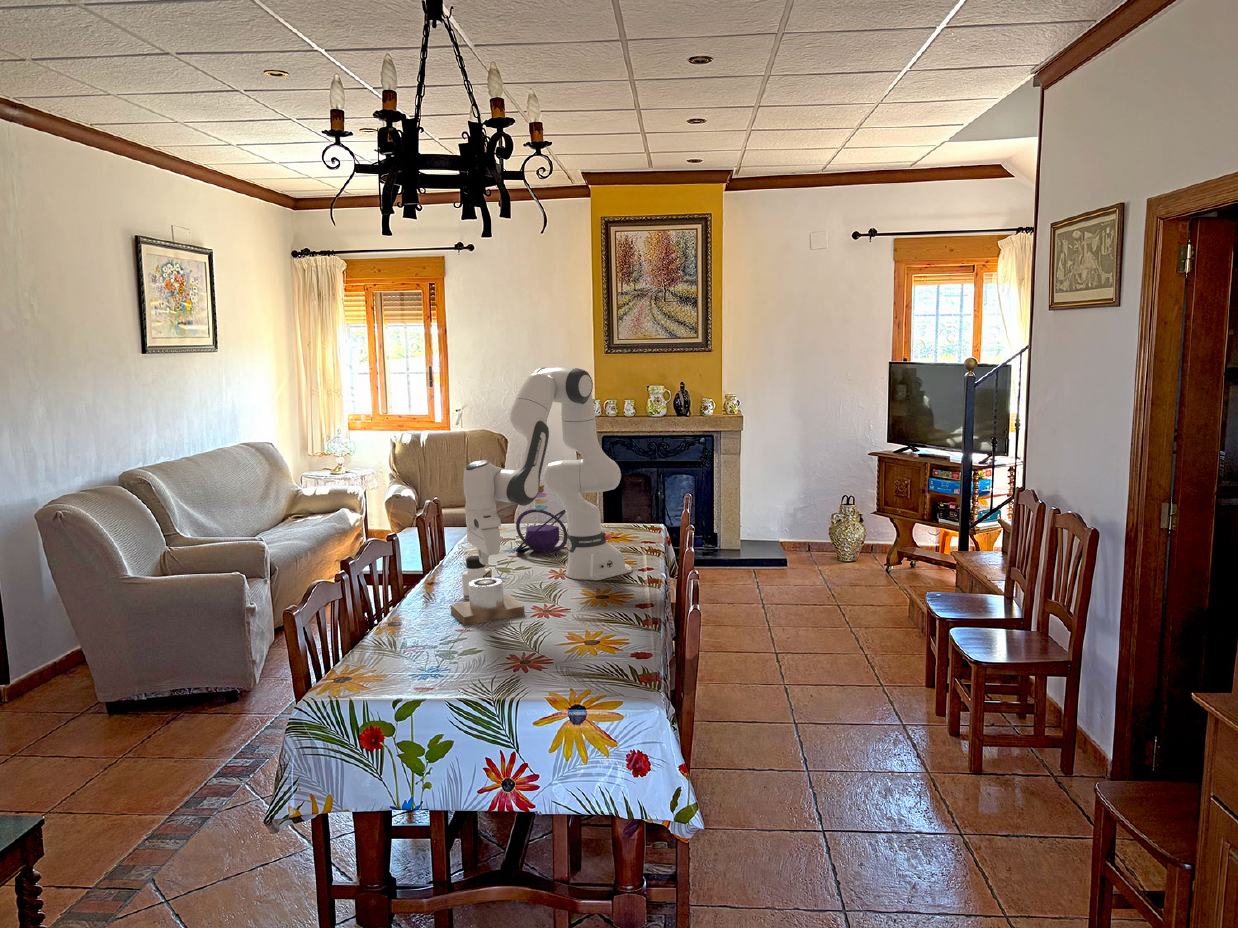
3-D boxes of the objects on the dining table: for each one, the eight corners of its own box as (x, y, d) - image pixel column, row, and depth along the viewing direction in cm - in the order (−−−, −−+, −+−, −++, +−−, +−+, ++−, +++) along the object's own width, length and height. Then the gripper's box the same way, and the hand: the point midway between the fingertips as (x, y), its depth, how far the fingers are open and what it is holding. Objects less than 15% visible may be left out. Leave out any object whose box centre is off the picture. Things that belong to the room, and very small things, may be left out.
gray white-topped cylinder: (492, 598, 262) (491, 578, 261) (497, 602, 258) (496, 582, 257) (476, 601, 260) (474, 581, 259) (481, 605, 256) (480, 585, 255)
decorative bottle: (527, 542, 346) (524, 479, 343) (578, 543, 341) (575, 480, 337) (505, 557, 325) (501, 490, 321) (559, 558, 319) (555, 490, 316)
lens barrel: (497, 598, 266) (495, 575, 264) (507, 606, 257) (506, 583, 256) (466, 603, 261) (464, 581, 260) (476, 612, 253) (474, 588, 252)
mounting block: (508, 602, 270) (508, 594, 269) (524, 614, 257) (524, 606, 257) (451, 612, 262) (450, 604, 261) (464, 625, 249) (464, 617, 249)
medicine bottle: (484, 596, 277) (482, 559, 275) (463, 596, 278) (460, 559, 276) (492, 589, 284) (490, 553, 282) (471, 589, 285) (468, 553, 283)
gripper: (460, 512, 263) (463, 557, 265) (481, 524, 245) (484, 572, 247) (480, 510, 266) (483, 554, 268) (502, 521, 248) (505, 569, 250)
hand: (484, 563), depth 257 cm, fingers closed
